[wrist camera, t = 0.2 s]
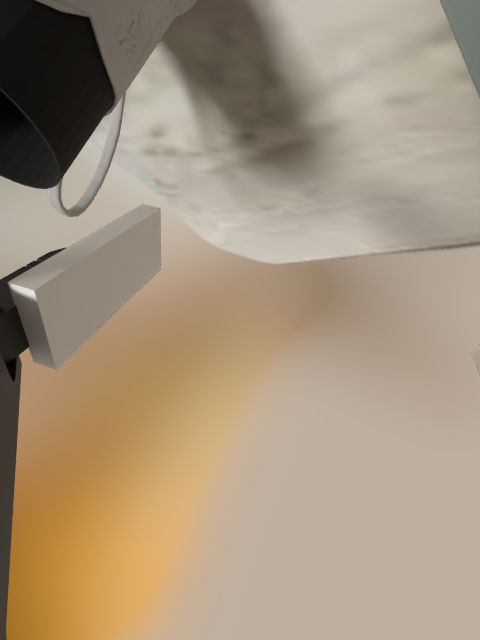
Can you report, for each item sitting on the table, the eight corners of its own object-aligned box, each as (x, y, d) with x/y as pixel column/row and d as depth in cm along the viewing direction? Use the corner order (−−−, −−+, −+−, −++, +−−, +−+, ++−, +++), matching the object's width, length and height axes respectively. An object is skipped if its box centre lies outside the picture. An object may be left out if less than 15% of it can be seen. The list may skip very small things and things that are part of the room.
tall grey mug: (216, -193, 14) (10, 38, 9) (207, 111, 27) (122, 267, 23) (16, -274, 14) (-294, -83, 9) (105, 71, 27) (-1, 219, 23)
